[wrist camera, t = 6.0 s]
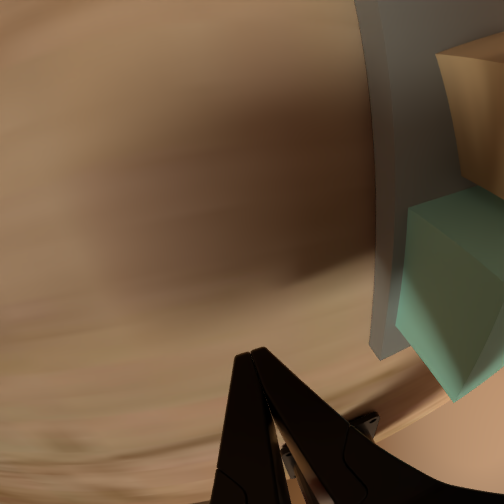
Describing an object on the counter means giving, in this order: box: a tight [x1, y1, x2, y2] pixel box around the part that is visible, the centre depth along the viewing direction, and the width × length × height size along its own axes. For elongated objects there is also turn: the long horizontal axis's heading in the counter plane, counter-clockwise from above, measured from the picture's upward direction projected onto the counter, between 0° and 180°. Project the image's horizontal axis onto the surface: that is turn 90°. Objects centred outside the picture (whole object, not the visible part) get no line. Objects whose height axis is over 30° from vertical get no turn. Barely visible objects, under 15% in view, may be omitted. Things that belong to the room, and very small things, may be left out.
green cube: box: [395, 185, 504, 403], centre depth 8 cm, size 5×5×4 cm
